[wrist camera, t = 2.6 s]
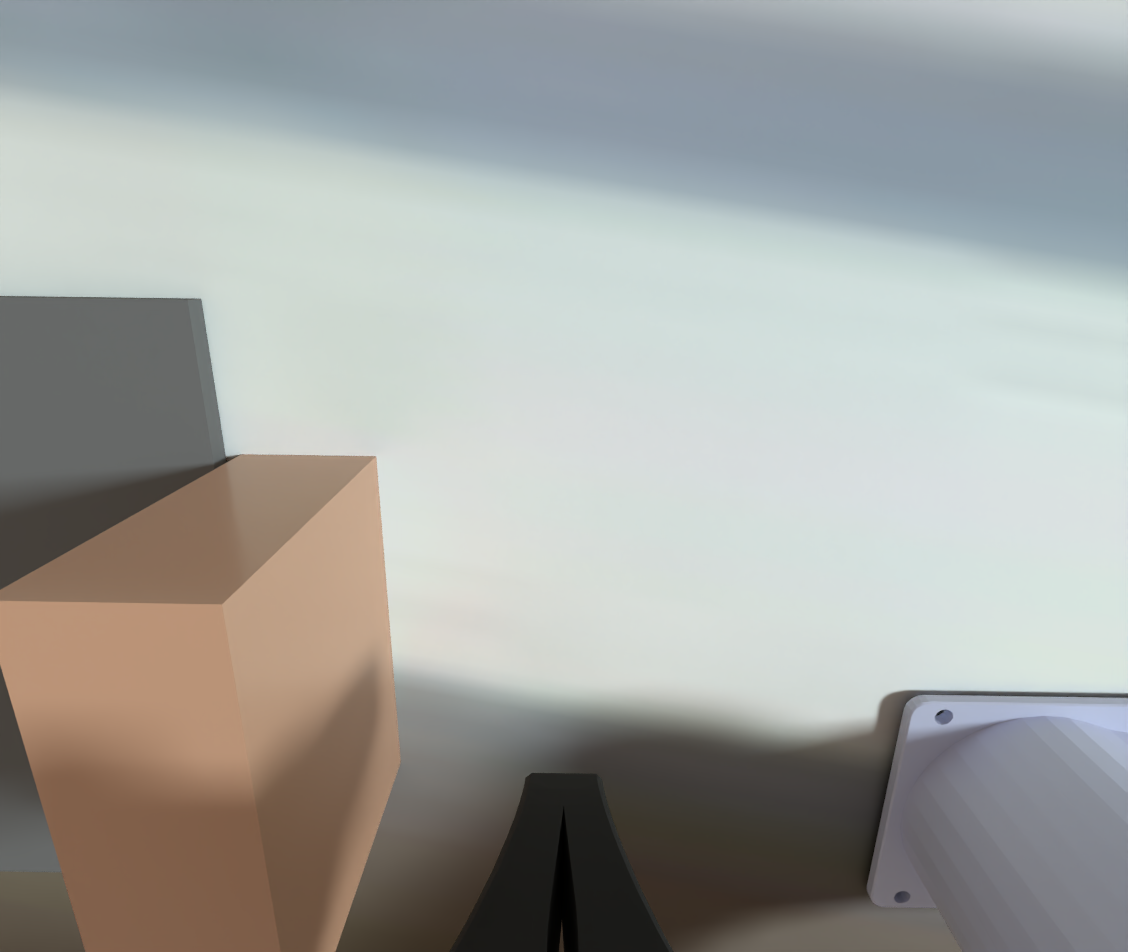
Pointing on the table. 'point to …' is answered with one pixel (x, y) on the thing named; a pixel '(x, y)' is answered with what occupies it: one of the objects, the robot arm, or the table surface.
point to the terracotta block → (214, 708)
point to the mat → (88, 461)
